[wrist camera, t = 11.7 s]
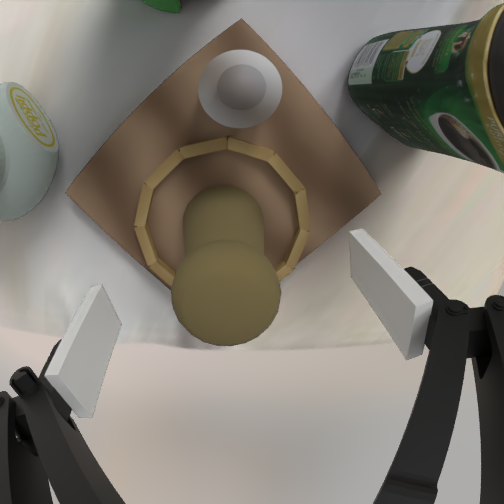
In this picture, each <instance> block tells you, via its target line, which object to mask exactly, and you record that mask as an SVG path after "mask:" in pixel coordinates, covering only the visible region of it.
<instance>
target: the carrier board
mask: <svg viewBox="0 0 504 504" xmlns="http://www.w3.org/2000/svg"><path fill="white" fill-rule="evenodd" d="M216 185H232V186H235V187H238V188H240V189H243V190H245V191H247V192H248V193H249V194H250V195H251V196H253V197H254V198H255V199H256V201H257V203H258V204H259V206H260V207H261V209H262V214H263V218H264V256H265V257H267V258H268V260H269V261H270V263H271V265H272V266H273V268H274V269H275V271H276V273H277V276H278V279H279V281H280V280H282V279H283V278H284V277H285V276H287V275H288V274H289V273H291V272H292V271H293V269H292V268H294V269H295V267H296V264H297V263H298V262H300V261H301V260H302V259H303V258H305V257H306V256H307V255H308V254H310V253H311V252H312V251H313V250H315V249H316V248H317V247H318V246H320V245H321V244H322V243H323V242H324V241H326V240H327V239H328V238H329V237H331V236H332V235H333V234H334V233H336V232H337V231H338V230H339V229H340V228H342V227H343V226H344V225H345V224H346V223H348V222H349V221H350V220H351V219H353V218H354V217H355V216H356V215H357V214H359V213H360V212H361V211H362V210H363V209H365V208H366V207H367V206H368V205H369V204H370V203H372V202H373V201H374V200H375V199H376V198H378V197H379V196H380V195H381V192H380V190H379V189H378V187H377V186H376V184H375V182H374V181H373V179H372V178H371V176H370V175H369V173H368V172H367V170H366V169H365V167H364V166H363V164H362V163H361V161H360V160H359V158H358V157H357V155H356V154H355V153H354V151H353V150H352V148H351V147H350V145H349V144H348V143H347V141H346V140H345V138H344V137H343V136H342V134H341V133H340V132H339V130H338V129H337V127H336V126H335V125H334V123H333V122H332V121H331V119H330V118H329V117H328V116H327V114H326V113H325V112H324V110H323V109H322V108H321V106H320V105H319V104H318V103H317V101H316V100H315V99H314V98H313V96H312V95H311V94H310V93H309V92H308V90H307V89H306V88H305V87H304V85H303V84H302V83H301V82H300V81H299V79H298V78H297V77H296V76H295V75H294V74H293V72H292V71H291V70H290V69H289V68H288V67H287V66H286V64H285V63H284V62H283V61H282V60H281V59H280V58H279V57H278V56H277V54H276V53H275V52H274V51H273V50H272V49H271V48H270V47H269V46H268V45H267V44H266V43H265V42H264V40H263V39H262V38H261V37H260V36H259V35H258V34H257V33H256V32H255V31H254V30H253V29H252V28H251V27H250V26H249V25H248V24H247V23H246V22H245V21H244V20H243V19H240V20H239V21H237V22H236V23H235V24H233V25H232V26H230V27H229V28H228V29H226V30H225V31H224V32H222V33H221V34H220V35H218V36H217V37H216V38H215V39H213V40H212V41H211V42H209V43H208V44H207V45H206V46H204V47H203V48H202V49H201V50H200V51H198V52H197V53H196V54H195V55H193V56H192V57H191V58H190V59H189V60H188V61H186V62H185V63H184V64H183V65H182V66H181V67H179V68H178V69H177V70H176V71H175V72H174V73H173V74H172V75H171V76H169V77H168V78H167V79H166V80H165V81H164V82H163V83H162V84H161V85H160V86H159V87H158V88H157V89H155V90H154V91H153V92H152V93H151V94H150V95H149V96H148V97H147V98H146V99H145V100H144V101H143V102H142V103H141V104H140V105H139V106H138V107H137V108H136V109H135V110H134V111H133V112H132V113H131V115H130V116H129V117H128V118H127V119H126V120H125V121H124V122H123V123H122V124H121V125H120V126H119V127H118V128H117V130H116V131H115V132H114V133H113V134H112V135H111V136H110V137H109V139H108V140H107V141H106V142H105V143H104V144H103V145H102V147H101V148H100V149H99V150H98V151H97V153H96V154H95V155H94V156H93V157H92V159H91V160H90V161H89V162H88V163H87V165H86V166H85V167H84V168H83V170H82V171H81V172H80V174H79V175H78V176H77V177H76V179H75V180H74V181H73V183H72V184H71V185H70V187H69V188H68V189H67V191H66V192H65V193H66V194H67V195H68V196H69V197H70V198H71V199H72V200H73V201H74V202H75V203H76V204H77V205H78V206H79V207H80V208H81V209H82V210H83V211H84V212H85V213H86V214H87V215H88V216H89V217H90V218H91V219H92V220H93V221H94V222H96V223H97V224H98V225H99V226H100V227H101V228H102V229H103V230H104V231H105V232H106V233H107V234H108V235H109V236H110V237H111V238H112V239H114V240H115V241H116V242H117V243H118V244H119V245H120V246H121V247H122V248H123V249H124V250H126V251H127V252H128V253H129V254H130V255H131V256H132V257H133V258H134V259H136V260H137V261H138V262H139V263H140V264H141V265H142V266H143V267H145V268H146V269H147V270H148V271H149V272H150V273H151V274H153V275H154V276H155V277H156V278H157V279H158V280H160V281H161V282H162V283H163V284H164V285H165V286H167V287H168V288H169V289H170V290H171V286H172V283H173V279H174V277H175V274H176V271H177V268H178V266H179V265H180V264H181V263H182V261H183V260H184V259H185V254H184V239H183V215H184V213H185V210H186V207H187V205H188V203H189V202H190V201H191V200H192V199H193V197H194V196H195V195H196V194H198V193H199V192H201V191H203V190H204V189H206V188H209V187H213V186H216Z"/></svg>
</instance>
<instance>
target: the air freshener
mask: <svg viewBox="0 0 504 504" xmlns="http://www.w3.org/2000/svg"><path fill="white" fill-rule="evenodd" d="M58 150H59V144H58V139H57V135H56V133H55V130H54V128H53V126H52V124H51V122H50V120H49V118H48V117H47V115H46V113H45V112H44V110H43V109H42V107H41V106H40V105H39V103H38V102H37V101H36V100H35V98H34V97H33V96H32V95H31V94H30V93H29V92H28V91H27V90H26V89H24V88H23V87H22V86H21V85H19V84H17V83H13V82H6V83H1V84H0V221H9V220H14V219H17V218H19V217H21V216H24V215H25V214H27V213H28V212H30V211H31V210H32V209H34V207H35V206H36V205H37V204H38V203H39V202H40V201H41V200H42V198H43V197H44V195H45V194H46V192H47V191H48V189H49V186H50V184H51V182H52V180H53V177H54V174H55V171H56V166H57V161H58Z"/></svg>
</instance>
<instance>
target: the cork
mask: <svg viewBox="0 0 504 504" xmlns="http://www.w3.org/2000/svg"><path fill="white" fill-rule="evenodd" d="M183 239H184V254H185V259H184V260H183V261H182V263H181V264H180V265H179V266H178V268H177V271H176V274H175V277H174V279H173V283H172V286H171V294H172V305H173V309H174V311H175V314H176V316H177V318H178V320H179V322H180V323H181V324H182V325H183V326H184V327H185V328H186V329H187V331H188V332H189V333H190V334H191V335H193V336H194V337H196V338H198V339H200V340H201V341H203V342H206V343H209V344H213V345H217V346H234V345H238V344H243V343H246V342H248V341H250V340H252V339H254V338H257V337H258V336H259V335H260V334H261V333H263V332H264V331H265V330H266V329H267V328H268V327H269V326H270V325H271V323H272V321H273V320H274V318H275V316H276V314H277V313H278V308H279V303H280V296H281V289H280V284H279V279H278V276H277V273H276V271H275V269H274V268H273V266H272V265H271V263H270V261H269V260H268V258H267V257H265V256H264V218H263V214H262V209H261V207H260V206H259V204H258V203H257V201H256V199H255V198H254V197H253V196H251V195H250V194H249V193H248V192H247V191H245V190H243V189H240V188H238V187H235V186H232V185H216V186H213V187H209V188H206V189H204V190H203V191H201V192H199V193H198V194H196V195H195V196H194V197H193V199H192V200H191V201H190V202H189V203H188V205H187V207H186V210H185V213H184V215H183Z"/></svg>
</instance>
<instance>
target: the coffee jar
mask: <svg viewBox="0 0 504 504" xmlns="http://www.w3.org/2000/svg"><path fill="white" fill-rule="evenodd" d="M348 87H349V91H350V94H351V97H352V99H353V100H354V102H355V103H356V104H357V106H358V107H359V108H360V109H361V110H362V111H363V112H364V113H365V114H366V115H368V116H369V118H371V119H372V120H373V121H374V122H375V123H376V124H378V125H379V126H380V127H381V128H383V129H384V130H385V131H386V132H388V133H389V134H390V135H391V136H393V137H394V138H396V139H397V140H399V141H401V142H402V143H404V144H406V145H407V146H410V147H414V148H418V149H422V150H426V151H431V152H436V153H441V154H445V155H449V156H453V157H457V158H460V159H463V160H467V161H471V162H474V163H477V164H480V165H483V166H486V167H489V168H492V169H495V170H497V171H500V172H502V173H504V3H503V4H500V5H498V6H496V7H494V8H493V9H491V10H490V11H489V12H488V13H487V14H486V15H484V16H483V17H482V18H481V19H480V20H477V21H473V22H468V23H461V24H454V25H445V26H437V27H429V28H421V29H412V30H403V31H396V32H391V33H387V34H383V35H380V36H377V37H375V38H373V39H371V40H370V41H369V42H368V43H367V44H366V45H365V46H364V47H363V49H362V50H361V51H360V52H359V54H358V55H357V57H356V59H355V61H354V63H353V65H352V67H351V70H350V73H349V77H348Z"/></svg>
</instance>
